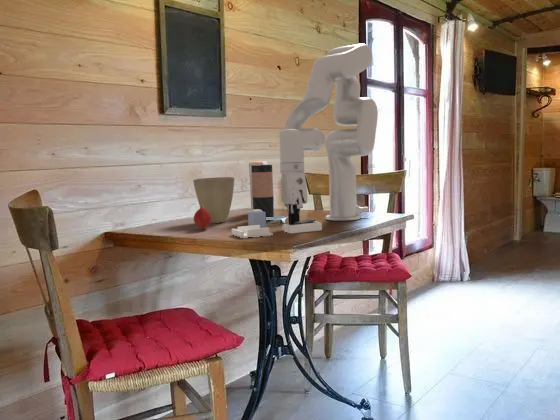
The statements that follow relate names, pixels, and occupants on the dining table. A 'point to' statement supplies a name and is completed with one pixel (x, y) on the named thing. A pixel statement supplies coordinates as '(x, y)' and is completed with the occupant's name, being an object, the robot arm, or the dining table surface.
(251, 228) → the holder
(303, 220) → the dark grey bar
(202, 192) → the plant pot
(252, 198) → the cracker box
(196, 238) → the dining table surface
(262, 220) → the block
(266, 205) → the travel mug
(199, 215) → the onion
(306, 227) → the clip
